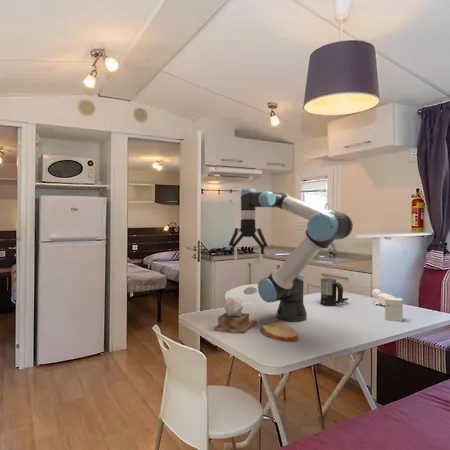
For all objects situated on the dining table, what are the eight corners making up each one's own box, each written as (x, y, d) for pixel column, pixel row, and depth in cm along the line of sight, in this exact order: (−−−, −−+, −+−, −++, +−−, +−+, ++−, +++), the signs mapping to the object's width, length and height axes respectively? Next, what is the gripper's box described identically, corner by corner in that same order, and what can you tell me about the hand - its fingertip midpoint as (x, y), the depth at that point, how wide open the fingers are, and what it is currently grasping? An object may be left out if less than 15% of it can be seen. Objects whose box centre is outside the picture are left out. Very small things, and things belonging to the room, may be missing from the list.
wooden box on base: (256, 322, 180) (256, 310, 180) (244, 333, 164) (244, 320, 164) (229, 319, 186) (229, 307, 185) (215, 329, 169) (215, 317, 169)
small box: (402, 319, 187) (402, 298, 187) (402, 321, 182) (402, 300, 182) (385, 317, 191) (385, 296, 190) (384, 319, 185) (385, 298, 185)
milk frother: (317, 304, 216) (317, 279, 216) (327, 299, 229) (327, 275, 229) (342, 308, 208) (342, 281, 208) (350, 303, 221) (350, 278, 221)
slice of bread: (298, 343, 152) (298, 334, 152) (255, 339, 157) (255, 330, 157) (302, 330, 169) (302, 322, 169) (263, 327, 174) (263, 319, 174)
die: (236, 320, 165) (248, 301, 168) (219, 310, 166) (231, 290, 169) (236, 322, 173) (247, 303, 176) (219, 312, 174) (230, 293, 177)
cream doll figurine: (395, 311, 213) (375, 297, 225) (401, 298, 210) (380, 285, 222) (385, 313, 209) (365, 298, 221) (390, 300, 206) (370, 286, 218)
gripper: (273, 218, 191) (273, 260, 192) (228, 218, 200) (228, 258, 201) (269, 219, 184) (269, 261, 185) (222, 218, 193) (222, 259, 194)
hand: (247, 260), depth 193 cm, fingers open, 13 cm apart
